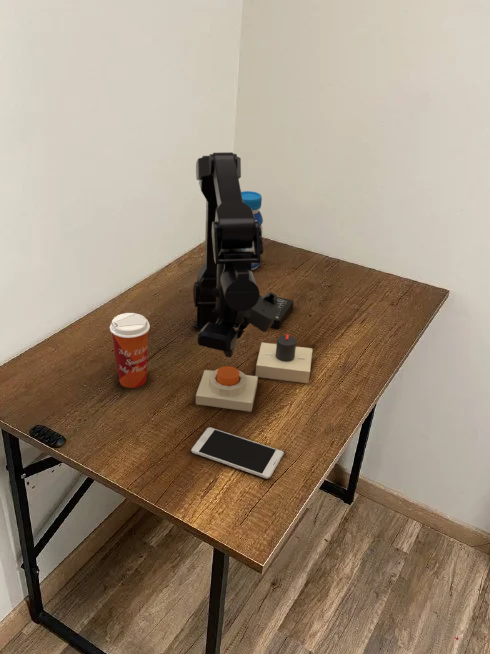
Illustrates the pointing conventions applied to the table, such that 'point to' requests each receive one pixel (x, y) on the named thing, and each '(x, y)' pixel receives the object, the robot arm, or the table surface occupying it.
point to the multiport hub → (282, 311)
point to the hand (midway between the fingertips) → (229, 356)
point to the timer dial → (285, 348)
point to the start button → (227, 376)
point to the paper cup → (130, 348)
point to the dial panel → (284, 364)
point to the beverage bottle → (255, 203)
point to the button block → (227, 392)
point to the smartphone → (238, 452)
